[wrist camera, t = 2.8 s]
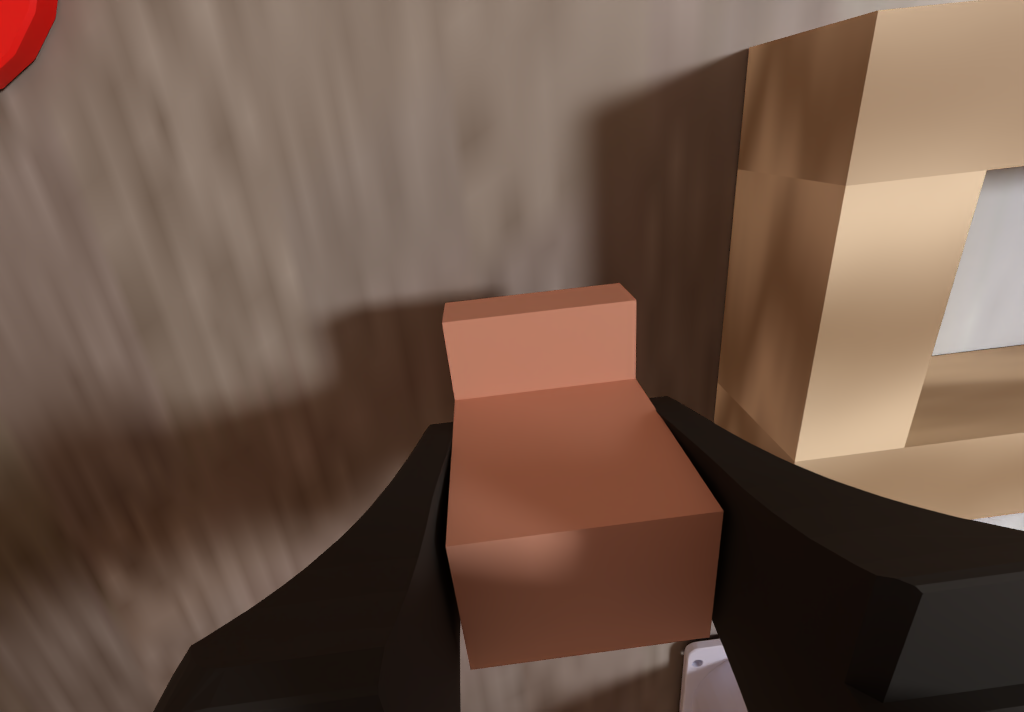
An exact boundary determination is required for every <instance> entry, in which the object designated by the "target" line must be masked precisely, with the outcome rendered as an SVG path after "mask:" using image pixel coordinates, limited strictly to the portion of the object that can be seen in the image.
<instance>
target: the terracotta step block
mask: <svg viewBox="0 0 1024 712" xmlns="http://www.w3.org/2000/svg"><path fill="white" fill-rule="evenodd" d="M442 325H443V331H444V338H445V344H446V350H447V356H448V362H449V368H450V374H451V380H452V386H453V392H454V398H455V407H454V423H453V438H452V454H451V470H450V486H449V501H448V517H447V533H446V551H447V556H448V561H449V566H450V571H451V576H452V580H453V585H454V590H455V595H456V600H457V605H458V610H459V615H460V620H461V624H462V629H463V634H464V639H465V644H466V649H467V654H468V659H469V663H470V668H471V670H472V669H480V668H487V667H495V666H502V665H509V664H517V663H524V662H531V661H539V660H546V659H554V658H561V657H568V656H576V655H583V654H590V653H598V652H605V651H613V650H620V649H627V648H635V647H642V646H649V645H657V644H664V643H672V642H679V641H686V640H694V639H701V638H708V637H710V630H711V621H712V612H713V603H714V594H715V585H716V576H717V567H718V558H719V548H720V539H721V530H722V521H723V512H724V511H723V509H722V508H721V506H720V505H719V503H718V502H717V500H716V499H715V497H714V496H713V494H712V493H711V491H710V490H709V488H708V487H707V485H706V484H705V482H704V481H703V479H702V478H701V476H700V475H699V473H698V472H697V470H696V469H695V467H694V466H693V464H692V463H691V461H690V460H689V458H688V457H687V455H686V454H685V452H684V451H683V449H682V448H681V446H680V445H679V443H678V442H677V440H676V439H675V437H674V436H673V434H672V433H671V431H670V430H669V428H668V427H667V425H666V424H665V422H664V421H663V419H662V418H661V416H660V415H659V414H658V413H657V412H656V409H655V407H654V406H653V404H652V403H651V401H650V400H649V398H648V397H647V395H646V394H645V392H644V391H643V389H642V388H641V386H640V385H639V383H638V382H637V380H636V299H635V298H634V297H633V296H632V295H631V294H630V293H629V292H628V291H627V290H626V289H625V288H624V287H623V286H622V285H621V284H620V283H615V284H606V285H597V286H588V287H580V288H571V289H562V290H554V291H545V292H536V293H527V294H519V295H510V296H501V297H493V298H484V299H475V300H466V301H458V302H449V303H445V307H444V313H443V320H442Z"/></svg>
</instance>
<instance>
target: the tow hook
mask: <svg viewBox="0 0 1024 712" xmlns="http://www.w3.org/2000/svg"><path fill="white" fill-rule="evenodd" d="M57 2H58V0H0V89H2V88H4V87H5V86H6V85H7V84H8V83H10V82H11V81H12V80H13V79H14V78H15V77H16V76H17V75H18V74H19V73H21V72H22V71H23V70H24V69H25V68H26V67H27V66H28V65H29V64H30V63H31V62H33V61H34V60H35V58H36V56H37V54H38V52H39V50H40V48H41V46H42V44H43V42H44V40H45V38H46V36H47V34H48V32H49V30H50V28H51V26H52V24H53V22H54V20H55V17H56V9H57Z"/></svg>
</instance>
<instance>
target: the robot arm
mask: <svg viewBox="0 0 1024 712" xmlns="http://www.w3.org/2000/svg"><path fill="white" fill-rule="evenodd" d="M649 400H650V401H651V403H652V404H653V406H654V407H655V409H656V412H657V413H658V414H659V415H660V416H661V418H662V419H663V421H664V422H665V424H666V425H667V427H668V428H669V430H670V431H671V433H672V434H673V436H674V437H675V439H676V440H677V442H678V443H679V445H680V446H681V448H682V449H683V451H684V452H685V454H686V455H687V457H688V458H689V460H690V461H691V463H692V464H693V466H694V467H695V469H696V470H697V472H698V473H699V475H700V476H701V478H702V479H703V481H704V482H705V484H706V485H707V487H708V488H709V490H710V491H711V493H712V494H713V496H714V497H715V499H716V500H717V502H718V503H719V505H720V506H721V508H722V509H723V511H724V512H723V521H722V530H721V539H720V548H719V558H718V567H717V576H716V585H715V594H714V603H713V612H712V621H713V623H714V626H715V628H716V631H717V633H718V635H719V639H712V640H705V641H698V642H693V643H690V644H689V645H687V647H686V648H685V651H684V662H683V674H682V686H681V698H680V710H679V712H1024V531H1021V530H1016V529H1011V528H1007V527H1002V526H997V525H992V524H988V523H983V522H978V521H973V520H969V519H964V518H959V517H955V516H951V515H947V514H943V513H939V512H936V511H932V510H928V509H924V508H920V507H917V506H913V505H909V504H906V503H902V502H899V501H895V500H892V499H889V498H885V497H882V496H879V495H876V494H873V493H870V492H867V491H864V490H861V489H858V488H855V487H852V486H849V485H846V484H843V483H840V482H838V481H835V480H832V479H829V478H827V477H824V476H822V475H819V474H817V473H814V472H812V471H810V470H807V469H805V468H802V467H800V466H797V465H795V464H793V463H790V462H788V461H786V460H784V459H782V458H779V457H777V456H775V455H773V454H771V453H769V452H767V451H765V450H763V449H761V448H759V447H757V446H755V445H753V444H751V443H749V442H747V441H745V440H743V439H742V438H740V437H738V436H736V435H734V434H732V433H731V432H729V431H727V430H725V429H724V428H722V427H720V426H718V425H717V424H715V423H713V422H711V421H710V420H708V419H706V418H705V417H703V416H701V415H700V414H698V413H696V412H694V411H693V410H691V409H689V408H688V407H686V406H684V405H683V404H681V403H679V402H677V401H676V400H674V399H672V398H670V397H668V396H664V397H655V398H649ZM453 423H454V422H450V423H441V424H433V425H430V426H429V427H428V428H427V429H426V431H425V433H424V434H423V436H422V437H421V439H420V441H419V442H418V444H417V445H416V447H415V448H414V450H413V451H412V453H411V454H410V456H409V457H408V459H407V460H406V462H405V463H404V464H403V466H402V467H401V469H400V470H399V471H398V473H397V474H396V476H395V477H394V478H393V480H392V481H391V482H390V484H389V485H388V486H387V487H386V488H385V490H384V491H383V492H382V493H381V495H380V496H379V497H378V498H377V500H376V501H375V502H374V503H373V504H372V506H371V507H370V508H369V509H368V510H367V511H366V512H365V513H364V515H363V516H362V517H361V518H360V519H359V520H358V521H357V522H356V523H355V524H354V525H353V526H352V527H351V528H350V529H349V530H348V531H347V532H346V533H345V534H344V535H343V536H342V537H341V538H340V539H339V540H338V541H336V542H335V543H334V544H333V545H332V546H331V547H329V548H328V549H327V550H326V551H325V552H324V553H323V554H321V555H320V556H319V557H318V558H317V559H316V560H314V561H313V562H312V563H311V564H310V565H309V566H308V567H306V568H305V569H304V570H303V571H301V572H300V573H299V574H297V575H296V576H295V577H293V578H292V579H291V580H290V581H288V582H287V583H286V584H284V585H283V586H282V587H280V588H279V589H277V590H276V591H275V592H273V593H272V594H271V595H269V596H268V597H266V598H265V599H264V600H262V601H261V602H259V603H258V604H256V605H255V606H253V607H252V608H250V609H249V610H248V611H246V612H244V613H243V614H241V615H240V616H238V617H236V618H235V619H233V620H232V621H230V622H229V623H227V624H225V625H224V626H222V627H221V628H219V629H218V630H216V631H214V632H213V633H211V634H210V635H208V636H206V637H205V638H203V639H202V640H200V641H198V642H196V643H195V644H193V645H191V647H190V648H189V650H188V651H187V653H186V655H185V656H184V658H183V660H182V661H181V663H180V664H179V666H178V668H177V669H176V671H175V673H174V674H173V676H172V678H171V680H170V682H169V683H168V685H167V687H166V689H165V691H164V693H163V695H162V697H161V698H160V700H159V702H158V704H157V706H156V708H155V710H154V711H153V712H460V621H461V620H460V615H459V610H458V605H457V600H456V595H455V590H454V585H453V580H452V576H451V571H450V566H449V561H448V556H447V551H446V533H447V517H448V501H449V486H450V470H451V454H452V438H453Z"/></svg>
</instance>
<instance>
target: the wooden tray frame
mask: <svg viewBox="0 0 1024 712" xmlns="http://www.w3.org/2000/svg"><path fill="white" fill-rule="evenodd" d="M1020 166H1024V0H978V1H968V2H958V3H948V4H938V5H928V6H918V7H908V8H898V9H888V10H878V11H875V12H871V13H868V14H864V15H861V16H858V17H854V18H851V19H847V20H844V21H840V22H837V23H833V24H830V25H826V26H823V27H819V28H816V29H812V30H809V31H805V32H802V33H799V34H795V35H792V36H788V37H785V38H781V39H778V40H774V41H771V42H767V43H764V44H760V45H757V46H753V47H750V48H749V56H748V66H747V77H746V87H745V98H744V108H743V119H742V130H741V140H740V151H739V161H738V172H737V182H736V193H735V204H734V214H733V225H732V235H731V246H730V256H729V267H728V278H727V288H726V299H725V309H724V320H723V330H722V341H721V352H720V362H719V373H718V383H717V394H716V404H715V415H714V423H715V424H717V425H718V426H720V427H722V428H724V429H725V430H727V431H729V432H731V433H732V434H734V435H736V436H738V437H740V438H742V439H743V440H745V441H747V442H749V443H751V444H753V445H755V446H757V447H759V448H761V449H763V450H765V451H767V452H769V453H771V454H773V455H775V456H777V457H779V458H782V459H784V460H786V461H788V462H790V463H793V464H795V465H797V466H800V467H802V468H805V469H807V470H810V471H812V472H814V473H817V474H819V475H822V476H824V477H827V478H829V479H832V480H835V481H838V482H840V483H843V484H846V485H849V486H852V487H855V488H858V489H861V490H864V491H867V492H870V493H873V494H876V495H879V496H882V497H885V498H889V499H892V500H895V501H899V502H902V503H906V504H909V505H913V506H917V507H920V508H924V509H928V510H932V511H936V512H939V513H943V514H947V515H951V516H955V517H959V518H964V519H969V520H971V519H978V518H985V517H993V516H1000V515H1008V514H1015V513H1023V512H1024V345H1019V346H1011V347H1003V348H995V349H987V350H978V351H970V352H962V353H954V354H946V355H938V356H932V353H933V349H934V346H935V342H936V339H937V336H938V332H939V329H940V326H941V322H942V319H943V316H944V312H945V309H946V306H947V302H948V299H949V295H950V292H951V289H952V285H953V282H954V279H955V275H956V272H957V269H958V265H959V262H960V259H961V255H962V252H963V248H964V245H965V242H966V238H967V235H968V232H969V228H970V225H971V222H972V218H973V215H974V211H975V208H976V205H977V201H978V198H979V195H980V191H981V188H982V185H983V181H984V178H985V175H986V171H987V170H993V169H1002V168H1011V167H1020Z"/></svg>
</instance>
